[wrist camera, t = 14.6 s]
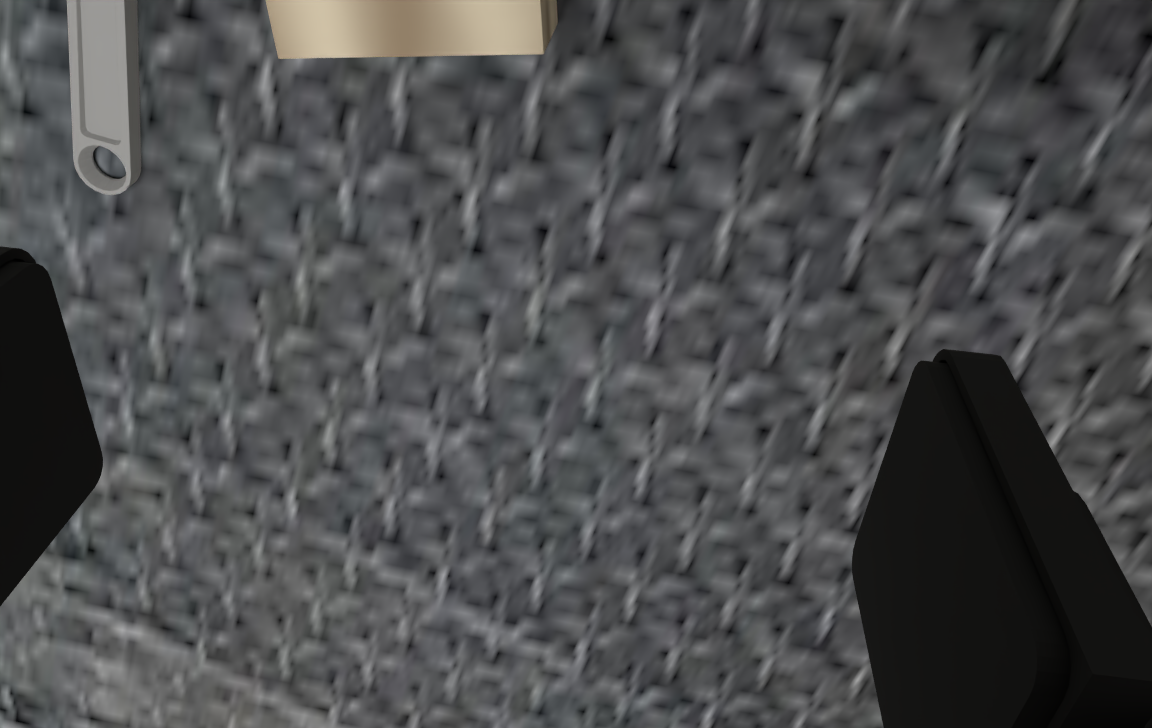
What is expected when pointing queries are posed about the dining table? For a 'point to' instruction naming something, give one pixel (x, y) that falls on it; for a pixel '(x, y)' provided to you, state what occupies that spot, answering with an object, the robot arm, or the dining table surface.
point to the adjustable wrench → (105, 88)
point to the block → (410, 27)
